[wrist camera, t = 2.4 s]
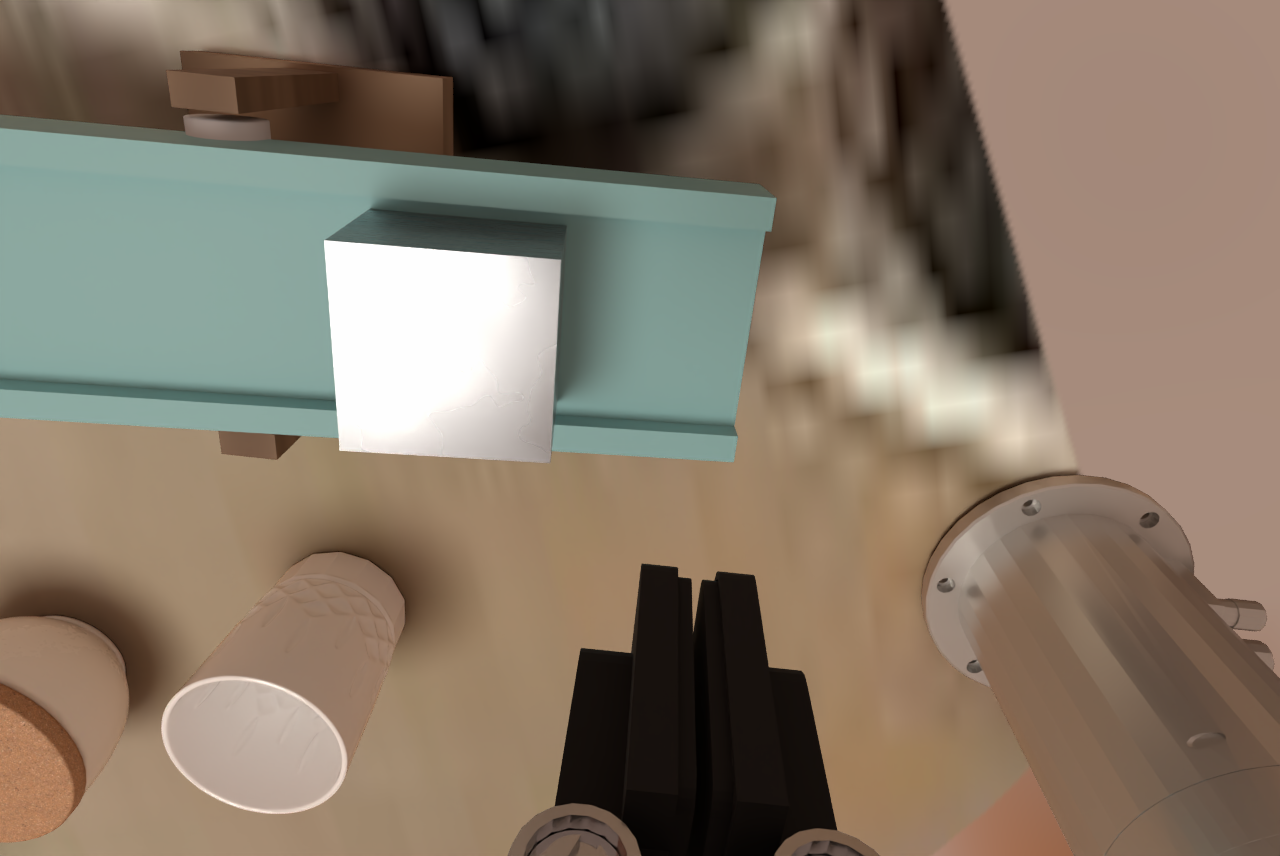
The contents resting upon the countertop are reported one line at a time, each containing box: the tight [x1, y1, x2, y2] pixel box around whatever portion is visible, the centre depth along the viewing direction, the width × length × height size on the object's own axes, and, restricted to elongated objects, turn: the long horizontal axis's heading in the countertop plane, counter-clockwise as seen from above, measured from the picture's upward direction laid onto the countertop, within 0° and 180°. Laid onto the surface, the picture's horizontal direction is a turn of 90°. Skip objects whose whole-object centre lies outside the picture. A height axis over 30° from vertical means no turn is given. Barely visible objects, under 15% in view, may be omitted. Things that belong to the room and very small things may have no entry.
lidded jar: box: [0, 615, 129, 842], centre depth 41 cm, size 11×11×9 cm
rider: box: [324, 209, 567, 463], centre depth 24 cm, size 6×6×4 cm
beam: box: [0, 114, 777, 462], centre depth 26 cm, size 34×10×5 cm, turn 85°
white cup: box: [161, 552, 405, 814], centre depth 38 cm, size 8×8×10 cm
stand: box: [166, 51, 453, 460], centre depth 30 cm, size 10×13×9 cm
